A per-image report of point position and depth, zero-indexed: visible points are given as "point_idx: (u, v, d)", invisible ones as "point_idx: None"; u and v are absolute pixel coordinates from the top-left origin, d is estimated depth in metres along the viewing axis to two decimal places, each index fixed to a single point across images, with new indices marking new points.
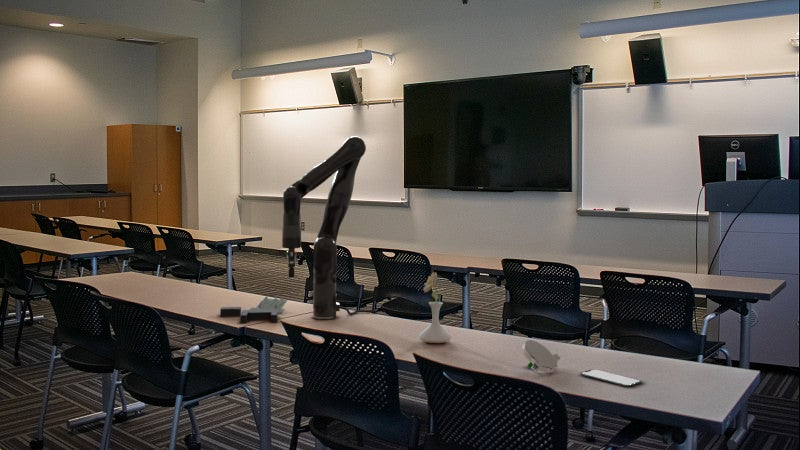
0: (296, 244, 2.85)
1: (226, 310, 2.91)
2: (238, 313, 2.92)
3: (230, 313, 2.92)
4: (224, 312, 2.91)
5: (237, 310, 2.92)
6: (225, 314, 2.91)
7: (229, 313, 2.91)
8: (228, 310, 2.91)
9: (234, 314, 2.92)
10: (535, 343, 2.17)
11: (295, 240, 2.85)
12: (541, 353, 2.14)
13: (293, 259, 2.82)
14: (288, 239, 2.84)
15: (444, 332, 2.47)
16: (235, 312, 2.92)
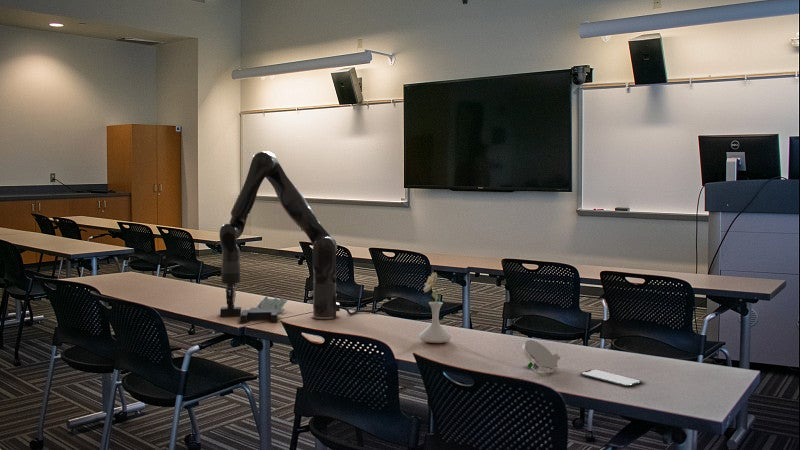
0: (235, 279, 2.90)
1: (226, 310, 2.91)
2: (238, 313, 2.92)
3: None
4: (224, 312, 2.91)
5: (237, 310, 2.92)
6: (225, 314, 2.91)
7: None
8: None
9: (234, 314, 2.92)
10: (535, 343, 2.17)
11: (233, 276, 2.90)
12: (541, 353, 2.14)
13: (231, 297, 2.88)
14: (226, 275, 2.89)
15: (444, 332, 2.47)
16: (235, 312, 2.92)
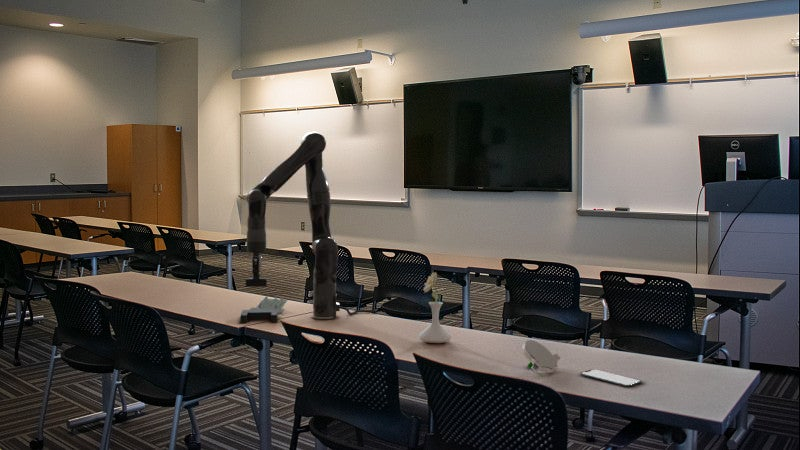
0: (261, 248, 2.79)
1: (252, 280, 2.80)
2: (264, 283, 2.81)
3: None
4: (249, 282, 2.80)
5: (263, 280, 2.80)
6: (251, 284, 2.80)
7: None
8: None
9: (260, 284, 2.80)
10: (535, 343, 2.17)
11: (259, 244, 2.79)
12: (541, 353, 2.14)
13: (257, 266, 2.76)
14: (252, 243, 2.78)
15: (444, 332, 2.47)
16: (261, 282, 2.80)
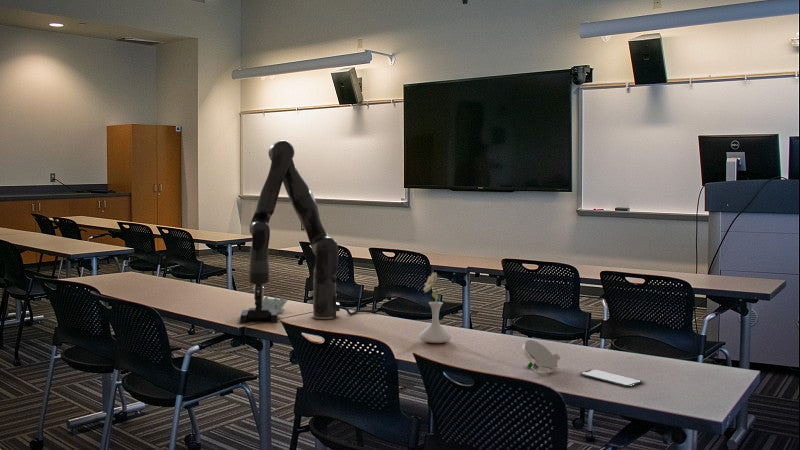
0: (264, 279, 2.78)
1: (254, 311, 2.79)
2: (266, 314, 2.80)
3: None
4: (252, 313, 2.79)
5: (265, 311, 2.80)
6: (253, 315, 2.79)
7: None
8: None
9: (262, 316, 2.80)
10: (535, 343, 2.17)
11: (262, 275, 2.78)
12: (541, 353, 2.14)
13: (260, 298, 2.75)
14: (255, 274, 2.77)
15: (444, 332, 2.47)
16: (264, 313, 2.80)
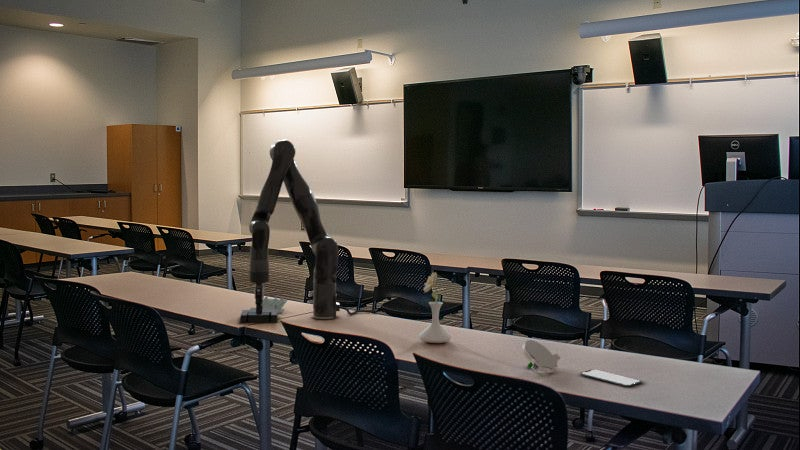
0: (264, 278, 2.78)
1: (254, 316, 2.79)
2: (266, 319, 2.80)
3: (258, 319, 2.79)
4: (252, 318, 2.79)
5: (265, 316, 2.80)
6: (253, 320, 2.79)
7: (257, 319, 2.79)
8: (256, 316, 2.79)
9: (262, 320, 2.80)
10: (535, 343, 2.17)
11: (262, 274, 2.78)
12: (541, 353, 2.14)
13: (260, 297, 2.75)
14: (255, 274, 2.77)
15: (444, 332, 2.47)
16: (264, 318, 2.80)
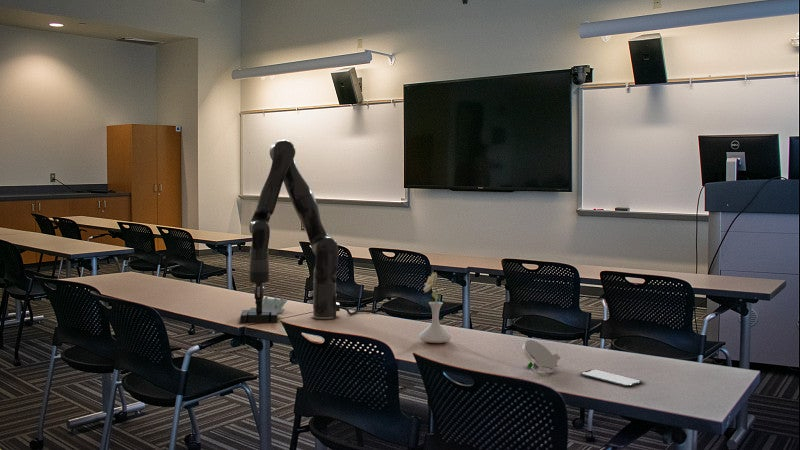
0: (264, 278, 2.78)
1: (254, 316, 2.79)
2: (266, 319, 2.80)
3: (258, 319, 2.79)
4: (252, 318, 2.79)
5: (265, 316, 2.80)
6: (253, 320, 2.79)
7: (257, 319, 2.79)
8: (256, 316, 2.79)
9: (262, 320, 2.80)
10: (535, 343, 2.17)
11: (262, 275, 2.78)
12: (541, 353, 2.14)
13: (260, 299, 2.77)
14: (255, 274, 2.77)
15: (444, 332, 2.47)
16: (264, 318, 2.80)
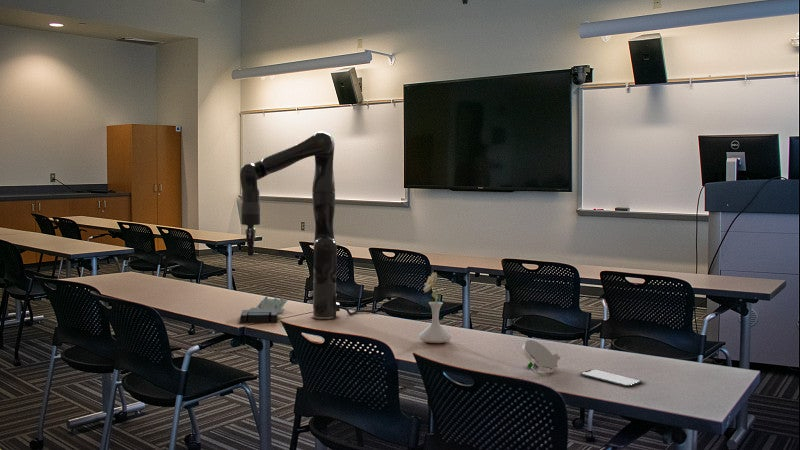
0: (255, 220, 2.88)
1: (254, 316, 2.79)
2: (266, 319, 2.80)
3: (258, 319, 2.79)
4: (252, 318, 2.79)
5: (265, 316, 2.80)
6: (253, 320, 2.79)
7: (257, 319, 2.79)
8: (256, 316, 2.79)
9: (262, 320, 2.80)
10: (535, 343, 2.17)
11: (253, 217, 2.88)
12: (541, 353, 2.14)
13: (251, 240, 2.87)
14: (246, 216, 2.87)
15: (444, 332, 2.47)
16: (264, 318, 2.80)
